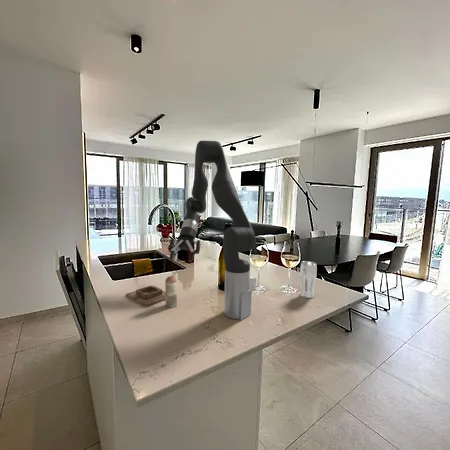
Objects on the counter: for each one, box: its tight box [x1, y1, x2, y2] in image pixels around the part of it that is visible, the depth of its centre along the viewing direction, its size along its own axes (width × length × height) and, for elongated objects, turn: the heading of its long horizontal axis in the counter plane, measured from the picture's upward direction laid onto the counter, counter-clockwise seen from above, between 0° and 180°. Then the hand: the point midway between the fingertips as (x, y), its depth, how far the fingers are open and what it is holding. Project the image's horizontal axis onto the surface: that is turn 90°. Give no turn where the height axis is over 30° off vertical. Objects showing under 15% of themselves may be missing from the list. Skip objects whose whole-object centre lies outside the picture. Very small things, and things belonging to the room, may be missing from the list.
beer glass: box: [299, 260, 318, 299], centre depth 115 cm, size 7×7×15 cm
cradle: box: [125, 285, 166, 308], centre depth 113 cm, size 16×13×3 cm
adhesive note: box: [249, 273, 257, 291], centre depth 124 cm, size 6×6×6 cm
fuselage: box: [164, 275, 178, 309], centre depth 104 cm, size 4×4×12 cm
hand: (180, 260), depth 114 cm, fingers open, 8 cm apart
